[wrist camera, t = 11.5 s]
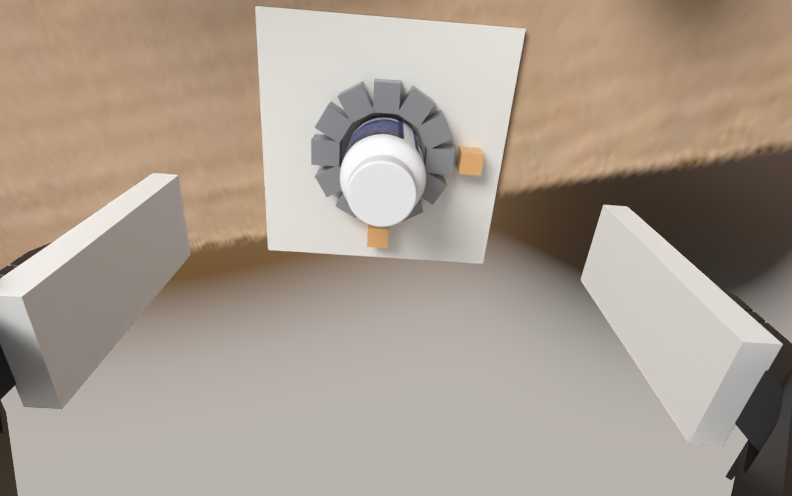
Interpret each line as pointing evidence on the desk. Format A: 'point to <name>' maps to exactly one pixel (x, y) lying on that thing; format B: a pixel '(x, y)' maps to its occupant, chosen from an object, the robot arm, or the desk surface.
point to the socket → (382, 95)
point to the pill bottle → (383, 171)
